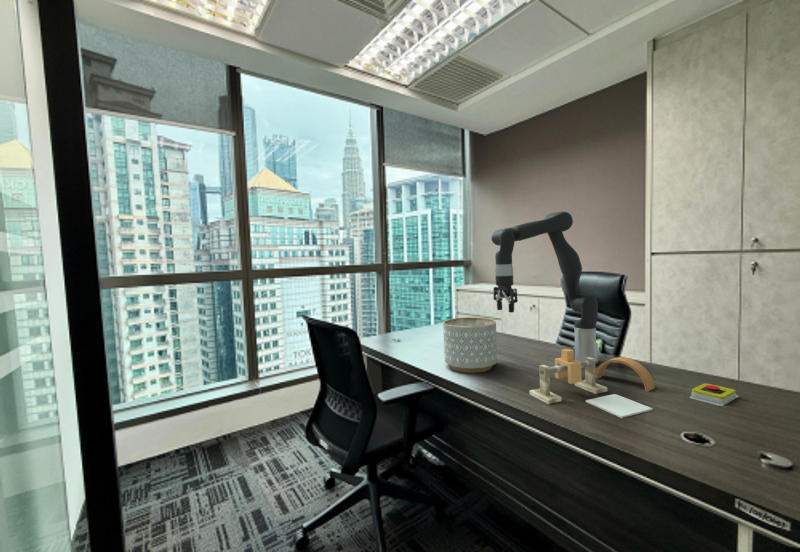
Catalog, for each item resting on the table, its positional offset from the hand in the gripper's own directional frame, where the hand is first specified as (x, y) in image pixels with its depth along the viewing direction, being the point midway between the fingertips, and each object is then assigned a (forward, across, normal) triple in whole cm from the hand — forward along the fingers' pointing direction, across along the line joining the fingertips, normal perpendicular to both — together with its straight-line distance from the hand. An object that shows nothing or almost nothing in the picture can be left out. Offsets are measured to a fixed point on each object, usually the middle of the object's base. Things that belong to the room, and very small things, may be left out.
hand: (505, 311), depth 155 cm
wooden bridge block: (+24, -26, -9) cm, 37 cm away
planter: (+30, +20, +7) cm, 36 cm away
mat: (+29, -42, -15) cm, 53 cm away
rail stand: (+29, -26, -9) cm, 40 cm away
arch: (+30, -27, -36) cm, 54 cm away
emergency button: (+30, -50, -51) cm, 77 cm away
